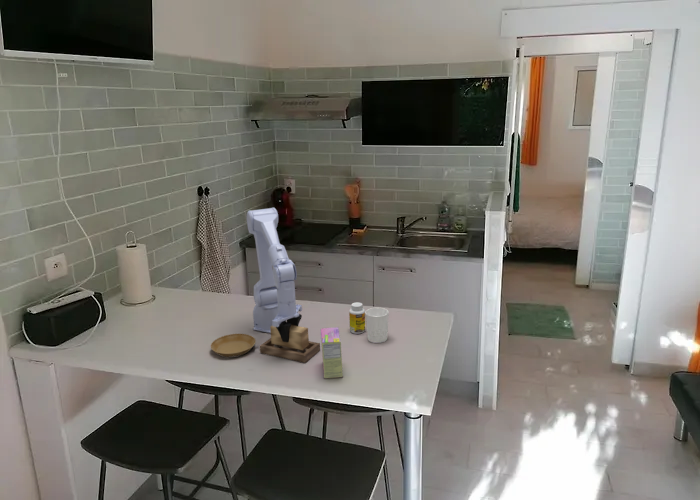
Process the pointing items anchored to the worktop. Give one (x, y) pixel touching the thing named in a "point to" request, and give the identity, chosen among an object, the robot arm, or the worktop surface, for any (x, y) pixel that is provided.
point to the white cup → (377, 324)
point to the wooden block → (291, 337)
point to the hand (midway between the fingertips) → (289, 338)
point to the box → (331, 352)
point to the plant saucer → (233, 345)
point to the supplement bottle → (357, 318)
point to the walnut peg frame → (290, 351)
